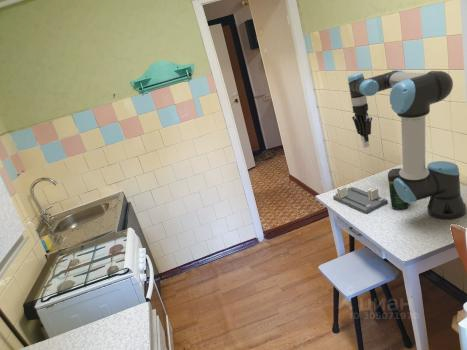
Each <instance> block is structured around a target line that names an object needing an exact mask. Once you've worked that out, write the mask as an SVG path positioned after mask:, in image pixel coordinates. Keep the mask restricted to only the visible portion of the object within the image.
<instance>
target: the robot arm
mask: <svg viewBox="0 0 467 350" xmlns="http://www.w3.org/2000/svg"><path fill="white" fill-rule="evenodd" d="M347 81H348V87H349V93H350V94H349V95H350V101H351V107H352V112H353V113H354V115H353V116H352V117H351V118H352V120H353V124H354V126H355V129H356V132H357V135H360V138H361V142H362V147H363V148H364V149H366V148H368V147H370V143H369V142H370V141H369V136H370V135H371V134H372V121H373V117H372V116H369V113H368V111H369V105H368V104H369V103H368V98H367V97H372V96H375V95H376V94H377V93H379V92H382V91H385V90H389V89H391V90H390V93H389V104H390V105H391V109H392V111H393V112H394V113H396V115H397V117H399V118H400V122H401V126H400V127H401V148H402V149H401V150H402V153H401V155H402V168H401V170H400V171H399V178H396V179H395V180H394V188H395V190H396V192H397V194H398V196H399V197H400V198H401V199H402V200H403V201H404V202H406V203H409V204H410V203H413V202H415V203H416V202H417V201H421V200H424V199H426V198H429V200H428V202H427V203H428V204H427V207H426V208H427V213H428V215H429V216H431V217H433V218H436V219H440V220H453V219H454V220H455V219H458V218H461V217H463V216H464V215H466V213H467V205H466V204H465V202H464V199H463V197H462V195H461V182H460V175H461V174H460V170H459V167H458V165H457V164H456V163H454V162H451V161H445V160H444V161H443V160H441V161H440V160H439V161H431V162H430V163H428V164H427V167H426V116H428V115H429V114H430V112H431V111H430V110H431V109H430V108H431V105H432V104H433V105H434V104H436V103H439V102H441V101H443V100H445V99H446V98H447V97H449V96H450V94H451V92H452V91H453V87H454V82H453V78H452V77H451V75H450V74H449V73H447V72H446V71H444V70H443V71H442V70H431V71H427V72H424V73H423V72H405V71H403V70H401V69H396V70H392V71H390V72H389V71H388V72H385V73H382V74H379V75H375V76H371V77H369V78H365V77H364V73H362V72H358V73H353V74H350V75H349V76H348V77H347Z"/></svg>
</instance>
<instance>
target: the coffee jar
mask: <svg viewBox="0 0 467 350" xmlns="http://www.w3.org/2000/svg"><path fill="white" fill-rule="evenodd" d="M401 169H402V168H401V167H400V168H391V169H390V170H389V171H388V173H387V181H388V189H389V190H388V191H389V195H390V205H391V208H392V209H394V210H400V211H401V210H405V209H408V208H409V204H410V203H406V202H404V201H403V200H402V199H401V198H400V197H399V196H398V194H397V192H396V190H395V188H394V180H395V179H396V178H399V171H400V170H401Z"/></svg>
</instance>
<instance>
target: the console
mask: <svg viewBox="0 0 467 350" xmlns="http://www.w3.org/2000/svg"><path fill="white" fill-rule="evenodd" d="M347 194H348V196H345V197H343V198H340V197H338V192H336V193H335V195H333V196H332V198H333V200H334V201H336V202H338V203H340V204H343V205H345V206H347V207H350V208H352V209H354V210H357V211H358V212H360V213H362V214H364V215H368V214H369V213H372V212H373V211H375V210H377V209H380V208H382V207H385V206H387V204H389V203H388V202H389V200H388V199H387V198H383V197H381V196H379V198H377V199H375V200H371V199H369V197H368V191H365V190H362V189H359V188H357V187H354V186H353V187H352V186H348V187H347Z"/></svg>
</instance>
